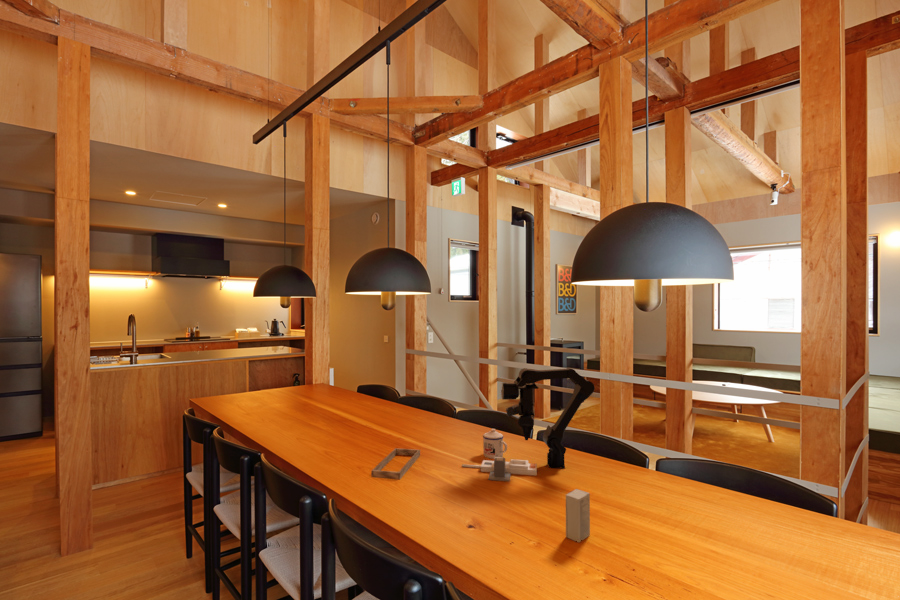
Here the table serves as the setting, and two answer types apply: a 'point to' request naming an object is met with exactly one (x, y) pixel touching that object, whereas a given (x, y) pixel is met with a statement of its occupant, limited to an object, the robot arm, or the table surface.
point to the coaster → (506, 478)
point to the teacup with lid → (493, 444)
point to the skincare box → (577, 515)
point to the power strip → (508, 466)
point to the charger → (499, 467)
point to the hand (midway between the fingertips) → (526, 437)
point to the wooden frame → (396, 451)
